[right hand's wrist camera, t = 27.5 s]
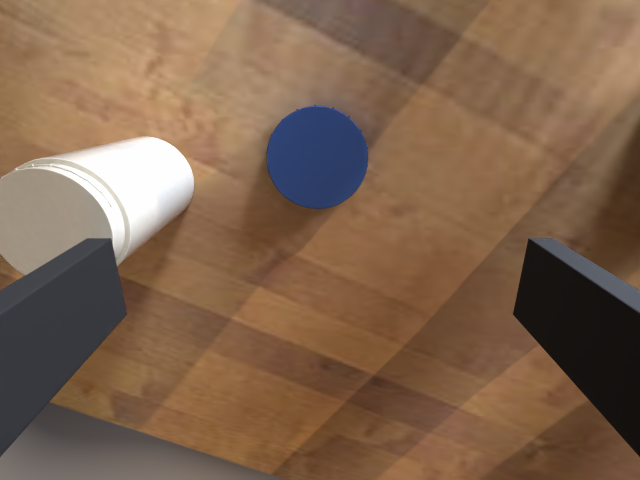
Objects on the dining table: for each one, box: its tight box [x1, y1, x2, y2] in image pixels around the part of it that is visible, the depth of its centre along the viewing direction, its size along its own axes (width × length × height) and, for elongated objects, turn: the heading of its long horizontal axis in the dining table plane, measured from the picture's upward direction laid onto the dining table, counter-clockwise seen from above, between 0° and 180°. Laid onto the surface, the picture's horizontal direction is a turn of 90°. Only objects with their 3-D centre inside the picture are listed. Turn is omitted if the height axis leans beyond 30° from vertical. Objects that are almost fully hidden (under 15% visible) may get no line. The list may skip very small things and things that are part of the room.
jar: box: [0, 137, 194, 276], centre depth 30 cm, size 8×8×15 cm
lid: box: [267, 105, 368, 209], centre depth 36 cm, size 9×9×2 cm
